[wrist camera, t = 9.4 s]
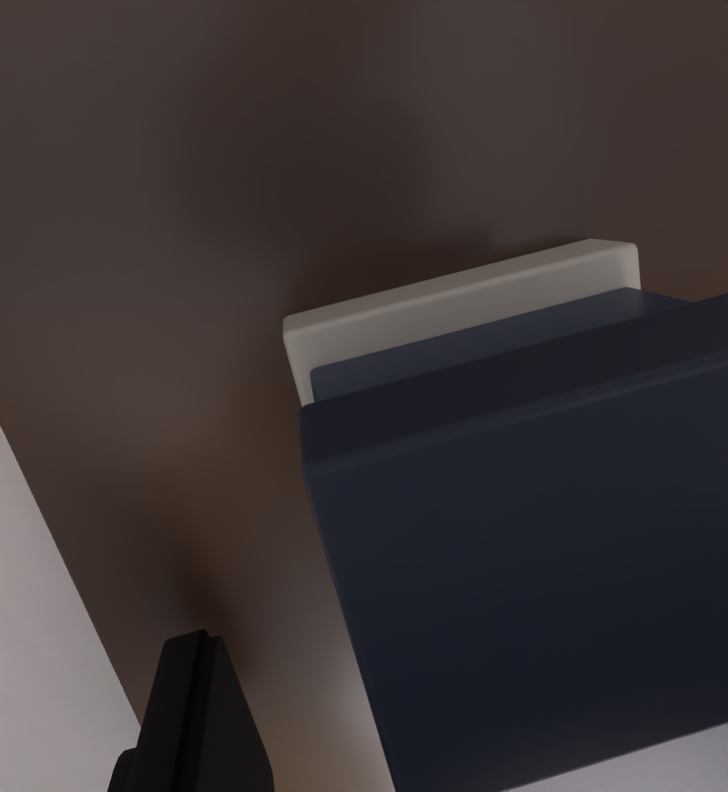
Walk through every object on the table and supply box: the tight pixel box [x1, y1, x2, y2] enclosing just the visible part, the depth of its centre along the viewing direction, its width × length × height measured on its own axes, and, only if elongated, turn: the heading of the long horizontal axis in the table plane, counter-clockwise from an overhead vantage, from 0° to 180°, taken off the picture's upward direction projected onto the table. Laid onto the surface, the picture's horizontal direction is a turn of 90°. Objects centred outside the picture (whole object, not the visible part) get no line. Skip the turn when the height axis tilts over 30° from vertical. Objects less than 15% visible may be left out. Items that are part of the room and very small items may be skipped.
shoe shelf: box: [0, 0, 728, 792], centre depth 11 cm, size 20×13×6 cm, turn 13°
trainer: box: [283, 239, 728, 792], centre depth 8 cm, size 11×5×5 cm, turn 13°
